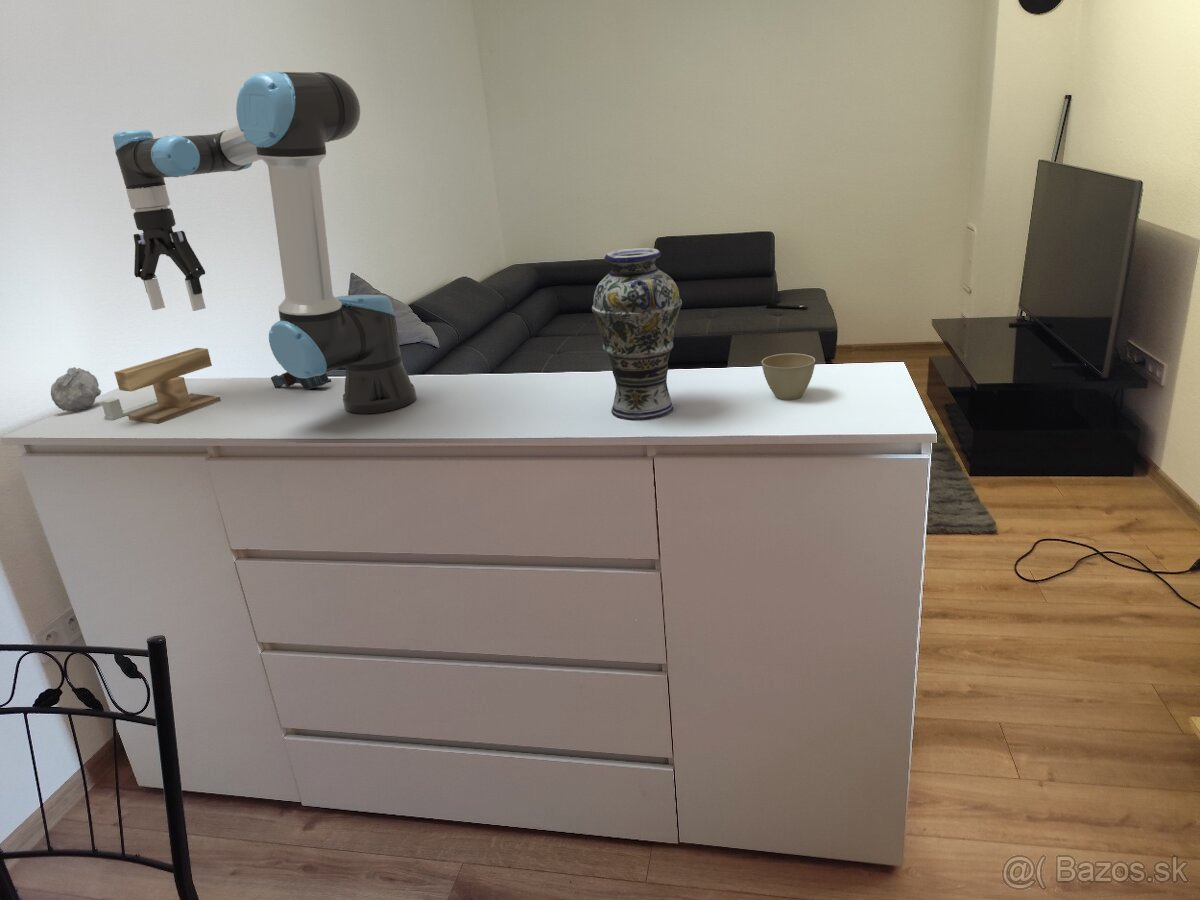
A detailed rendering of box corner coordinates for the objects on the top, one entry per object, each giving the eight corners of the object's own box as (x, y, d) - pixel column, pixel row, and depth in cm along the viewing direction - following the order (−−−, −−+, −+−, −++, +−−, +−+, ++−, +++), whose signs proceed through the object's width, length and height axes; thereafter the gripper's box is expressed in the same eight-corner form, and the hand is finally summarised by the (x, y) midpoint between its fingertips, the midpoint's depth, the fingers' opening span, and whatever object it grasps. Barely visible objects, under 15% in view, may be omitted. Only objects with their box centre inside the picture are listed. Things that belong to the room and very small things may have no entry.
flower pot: (769, 386, 172) (769, 352, 169) (820, 389, 167) (820, 354, 165) (755, 402, 163) (755, 366, 161) (808, 405, 159) (808, 368, 156)
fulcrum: (221, 400, 194) (213, 369, 191) (158, 423, 181) (148, 389, 179) (192, 397, 199) (184, 366, 196) (129, 419, 186) (119, 386, 183)
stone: (86, 402, 202) (73, 361, 198) (110, 402, 201) (98, 361, 197) (55, 415, 193) (41, 373, 190) (81, 415, 192) (67, 372, 188)
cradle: (187, 394, 202) (183, 378, 200) (112, 420, 186) (107, 402, 185) (180, 393, 203) (176, 377, 202) (104, 419, 188) (99, 401, 186)
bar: (211, 365, 194) (207, 348, 193) (131, 391, 178) (125, 373, 177) (200, 364, 196) (196, 347, 195) (119, 390, 180) (114, 371, 179)
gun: (256, 328, 199) (302, 311, 192) (285, 395, 203) (332, 381, 197) (247, 330, 197) (294, 314, 190) (278, 398, 201) (324, 384, 194)
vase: (661, 390, 175) (653, 241, 164) (702, 413, 160) (696, 250, 149) (586, 406, 169) (573, 252, 159) (621, 430, 154) (609, 263, 144)
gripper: (206, 204, 177) (231, 306, 184) (131, 209, 188) (157, 305, 196) (175, 208, 170) (202, 313, 178) (99, 213, 182) (127, 312, 189)
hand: (178, 309), depth 187 cm, fingers open, 13 cm apart
